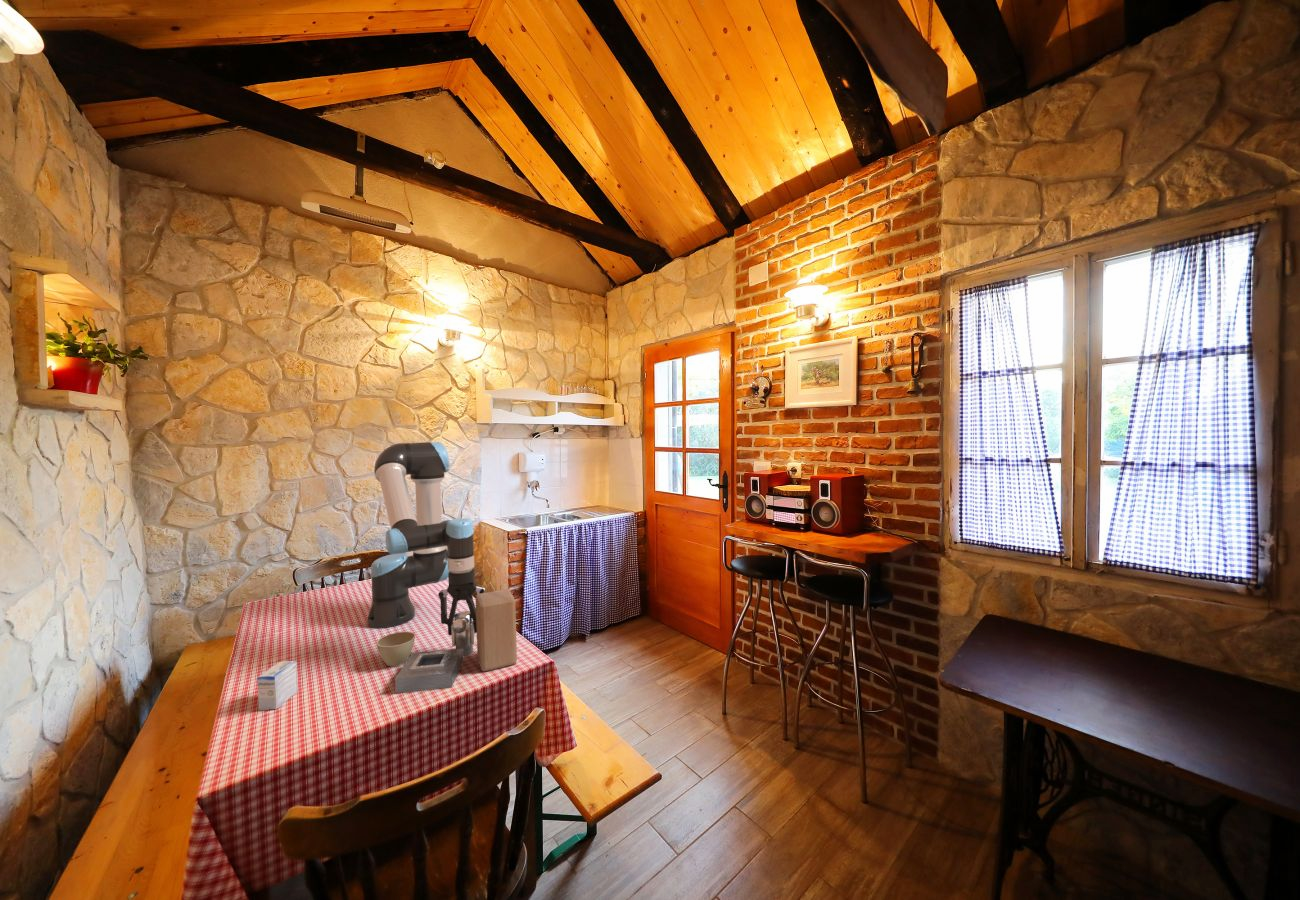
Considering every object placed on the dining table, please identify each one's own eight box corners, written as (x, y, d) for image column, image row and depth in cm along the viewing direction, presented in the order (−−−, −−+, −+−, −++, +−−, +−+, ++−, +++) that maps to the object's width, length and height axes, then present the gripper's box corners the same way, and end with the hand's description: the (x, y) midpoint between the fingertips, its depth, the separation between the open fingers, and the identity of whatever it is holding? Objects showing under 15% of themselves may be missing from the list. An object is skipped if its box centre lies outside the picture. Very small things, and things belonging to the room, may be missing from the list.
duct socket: (413, 666, 135) (412, 650, 134) (463, 661, 137) (462, 645, 137) (395, 693, 121) (394, 675, 121) (451, 687, 123) (451, 669, 123)
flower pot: (399, 672, 132) (398, 648, 131) (369, 669, 134) (368, 645, 133) (423, 655, 141) (422, 632, 141) (395, 652, 143) (394, 630, 143)
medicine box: (280, 693, 122) (279, 661, 122) (298, 691, 122) (296, 660, 122) (258, 711, 114) (256, 677, 114) (277, 709, 115) (275, 676, 114)
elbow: (457, 649, 145) (456, 610, 144) (474, 647, 146) (473, 608, 145) (451, 662, 137) (449, 621, 136) (469, 660, 138) (467, 619, 137)
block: (481, 673, 130) (479, 604, 129) (477, 658, 139) (474, 593, 138) (517, 664, 135) (515, 597, 134) (511, 650, 144) (509, 587, 143)
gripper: (426, 575, 136) (429, 652, 137) (489, 571, 140) (492, 646, 141) (433, 568, 144) (436, 641, 145) (493, 564, 147) (496, 635, 148)
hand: (464, 643), depth 143 cm, fingers closed on elbow, 5 cm apart
